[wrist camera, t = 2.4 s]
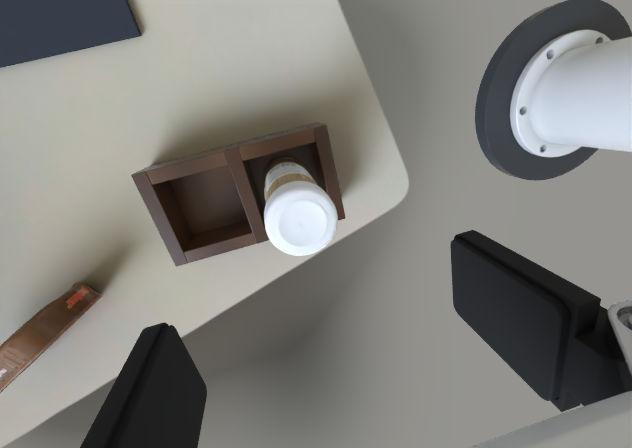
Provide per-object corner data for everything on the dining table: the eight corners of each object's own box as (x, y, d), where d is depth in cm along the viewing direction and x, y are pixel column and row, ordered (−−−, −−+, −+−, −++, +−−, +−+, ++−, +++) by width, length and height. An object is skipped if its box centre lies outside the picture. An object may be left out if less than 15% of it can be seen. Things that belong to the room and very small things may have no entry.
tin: (29, 365, 33) (-43, 443, 25) (-1, 352, 32) (-86, 429, 24) (117, 281, 31) (69, 337, 23) (89, 263, 30) (29, 316, 22)
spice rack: (317, 122, 29) (326, 124, 25) (335, 205, 32) (345, 218, 28) (150, 165, 28) (130, 175, 24) (186, 246, 31) (175, 266, 27)
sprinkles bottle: (264, 200, 30) (266, 260, 18) (262, 155, 29) (262, 188, 16) (308, 198, 31) (338, 255, 19) (308, 155, 29) (341, 186, 17)
